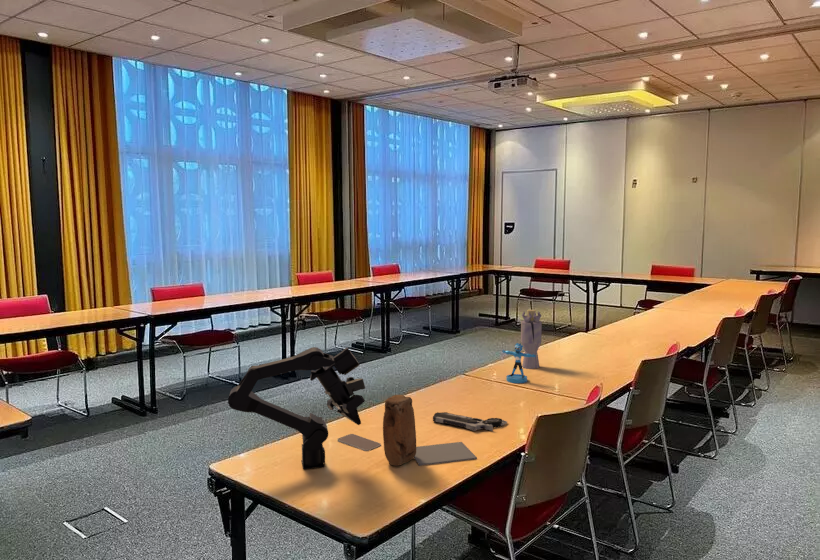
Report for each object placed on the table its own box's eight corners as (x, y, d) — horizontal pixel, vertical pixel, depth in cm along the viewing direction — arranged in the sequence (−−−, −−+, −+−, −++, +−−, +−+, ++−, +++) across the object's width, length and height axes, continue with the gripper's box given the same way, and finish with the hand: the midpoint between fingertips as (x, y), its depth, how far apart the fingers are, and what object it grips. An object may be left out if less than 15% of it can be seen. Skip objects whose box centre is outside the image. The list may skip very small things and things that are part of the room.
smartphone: (366, 450, 193) (335, 439, 203) (366, 453, 193) (336, 441, 203) (382, 443, 199) (351, 433, 208) (382, 446, 199) (351, 435, 208)
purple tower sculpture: (529, 363, 312) (529, 307, 309) (545, 366, 304) (545, 309, 301) (516, 366, 305) (517, 309, 302) (532, 370, 297) (533, 311, 294)
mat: (419, 465, 181) (419, 464, 181) (407, 449, 195) (407, 447, 195) (476, 459, 186) (476, 457, 186) (461, 443, 200) (461, 441, 200)
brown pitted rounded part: (399, 452, 192) (395, 392, 189) (419, 455, 188) (415, 394, 186) (381, 465, 182) (377, 402, 180) (402, 469, 178) (398, 405, 176)
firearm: (451, 406, 233) (430, 414, 220) (508, 417, 219) (490, 427, 207) (450, 414, 233) (430, 423, 220) (507, 426, 219) (489, 436, 207)
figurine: (496, 380, 279) (496, 342, 278) (506, 375, 287) (506, 339, 285) (530, 386, 268) (531, 347, 267) (540, 381, 276) (540, 343, 274)
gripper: (363, 368, 177) (391, 409, 179) (342, 367, 194) (367, 406, 196) (334, 390, 172) (363, 433, 174) (315, 388, 189) (341, 427, 191)
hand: (359, 424), depth 184 cm, fingers closed
